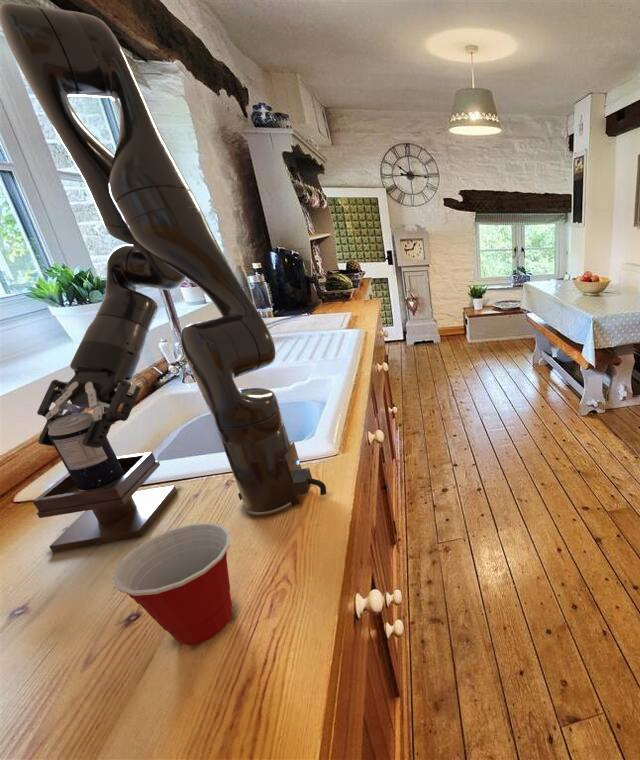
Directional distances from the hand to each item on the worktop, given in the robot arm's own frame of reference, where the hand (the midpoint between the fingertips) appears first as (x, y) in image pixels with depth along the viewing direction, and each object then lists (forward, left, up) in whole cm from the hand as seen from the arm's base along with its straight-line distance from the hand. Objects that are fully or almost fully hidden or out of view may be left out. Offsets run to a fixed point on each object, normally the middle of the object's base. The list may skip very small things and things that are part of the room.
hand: (69, 445), depth 63 cm
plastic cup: (-24, +25, -16) cm, 38 cm away
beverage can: (-1, -2, -9) cm, 9 cm away
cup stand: (-1, -1, -16) cm, 16 cm away
